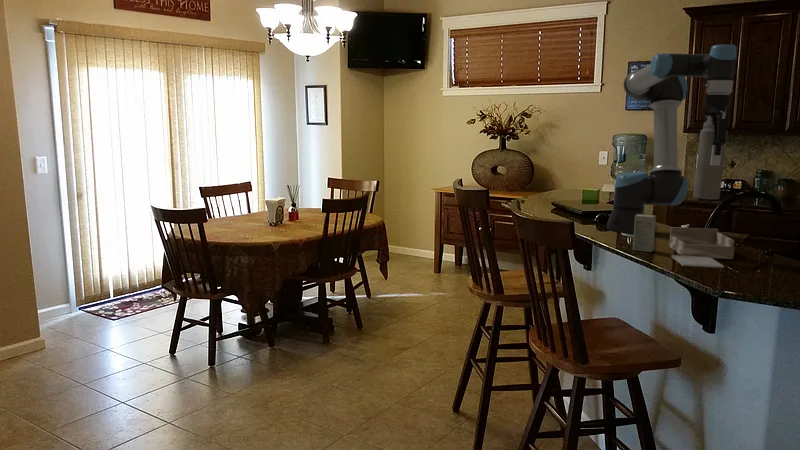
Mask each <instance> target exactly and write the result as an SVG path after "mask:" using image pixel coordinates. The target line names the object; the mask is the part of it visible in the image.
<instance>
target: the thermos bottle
mask: <svg viewBox="0 0 800 450" xmlns="http://www.w3.org/2000/svg"><path fill="white" fill-rule="evenodd" d="M711 114H712V113H708V114H707V116H708V118H707V122H705V123H704V122H703V124H704V126H703V125H702V129H703V130H702V129H700V133H699V142H698V151H697V157H696V158H697V159H696V168H695V170H696V171H695V175H694V176H695V177H694V187H693V194H692V196H693V198H695V199H702V200H719V199H720V195H721V187H722V181H723V180H722V179H723V172H724V170H723V169H724V164H725V163H724V162H725V155H726V147H727V139H728V130H727V132H726V143H725V144H723V145H722V152H721V160H720V166H716V165H710V162H711V154H712V143H714V125H713V124H712V118H711ZM713 115H714V116H715V113H713ZM717 122H718V121H717Z"/></svg>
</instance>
